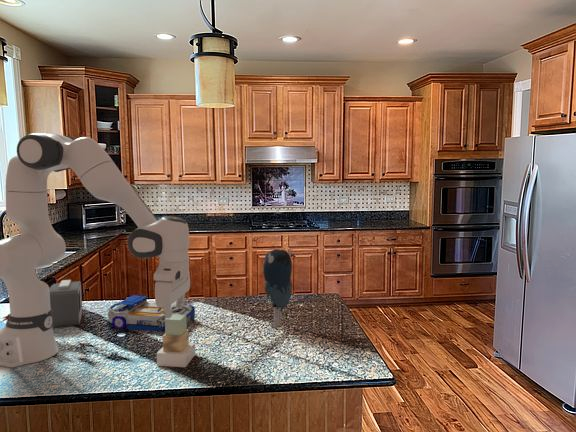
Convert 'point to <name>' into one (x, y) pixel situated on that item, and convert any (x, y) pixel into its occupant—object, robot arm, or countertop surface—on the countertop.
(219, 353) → the countertop surface
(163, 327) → the toy car
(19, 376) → the countertop surface
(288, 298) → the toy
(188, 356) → the pedestal
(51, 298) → the grey box with button
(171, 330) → the green cube
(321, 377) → the countertop surface
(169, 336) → the oak block
